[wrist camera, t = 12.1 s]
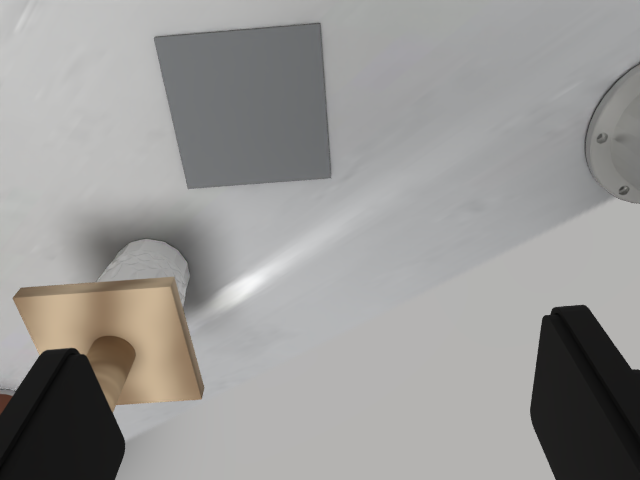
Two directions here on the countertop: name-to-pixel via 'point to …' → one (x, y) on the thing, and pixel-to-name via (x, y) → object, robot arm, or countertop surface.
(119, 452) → the robot arm
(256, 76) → the mat
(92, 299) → the lid
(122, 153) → the countertop surface
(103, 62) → the countertop surface
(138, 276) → the white cup
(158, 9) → the countertop surface
